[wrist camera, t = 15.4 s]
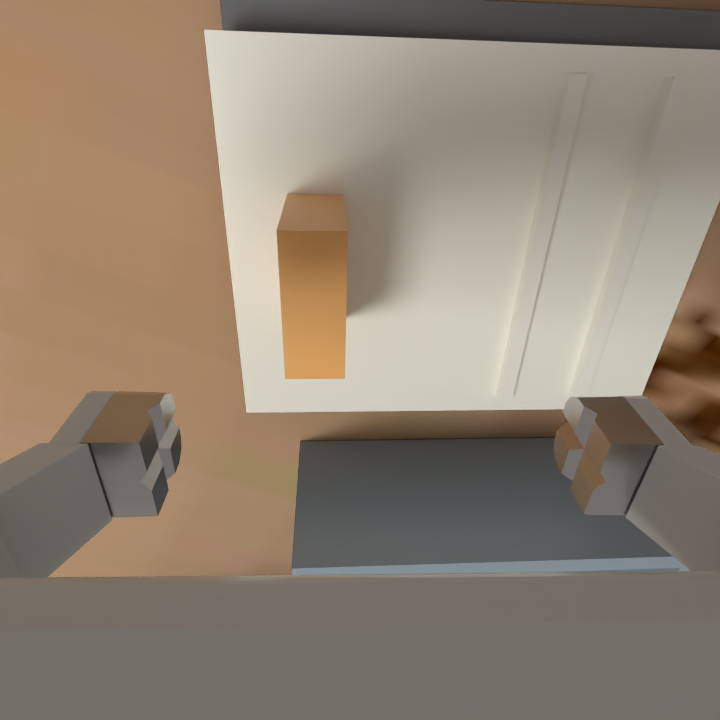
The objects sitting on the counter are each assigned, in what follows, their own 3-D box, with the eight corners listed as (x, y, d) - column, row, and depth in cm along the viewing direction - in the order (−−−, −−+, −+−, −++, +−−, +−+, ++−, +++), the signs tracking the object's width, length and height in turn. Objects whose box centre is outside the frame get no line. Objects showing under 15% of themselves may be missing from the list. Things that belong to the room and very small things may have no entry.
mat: (775, 15, 18) (788, 13, 18) (629, 394, 27) (635, 400, 26) (221, -10, 17) (218, -12, 16) (259, 397, 26) (258, 404, 25)
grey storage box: (613, 436, 28) (704, 555, 22) (556, 586, 36) (610, 710, 29) (300, 441, 27) (291, 568, 20) (306, 594, 35) (301, 726, 28)
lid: (732, 53, 18) (919, 49, 12) (613, 382, 26) (695, 475, 20) (217, 33, 17) (161, 19, 11) (252, 385, 24) (230, 484, 19)
